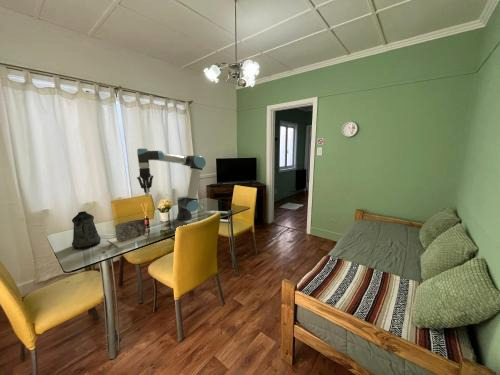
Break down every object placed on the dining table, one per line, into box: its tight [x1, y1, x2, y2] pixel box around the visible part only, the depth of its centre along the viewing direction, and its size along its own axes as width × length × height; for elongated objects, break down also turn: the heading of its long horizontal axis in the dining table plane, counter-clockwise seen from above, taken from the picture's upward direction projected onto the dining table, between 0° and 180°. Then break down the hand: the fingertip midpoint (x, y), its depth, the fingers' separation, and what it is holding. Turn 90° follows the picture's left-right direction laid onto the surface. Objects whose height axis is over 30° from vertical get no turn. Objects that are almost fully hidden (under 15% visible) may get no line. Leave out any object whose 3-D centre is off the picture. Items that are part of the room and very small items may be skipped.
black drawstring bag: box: [71, 210, 102, 251], centre depth 149 cm, size 16×19×25 cm
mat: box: [107, 234, 150, 249], centre depth 162 cm, size 22×20×1 cm
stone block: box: [115, 218, 147, 242], centre depth 163 cm, size 13×7×20 cm
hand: (147, 196), depth 172 cm, fingers closed
